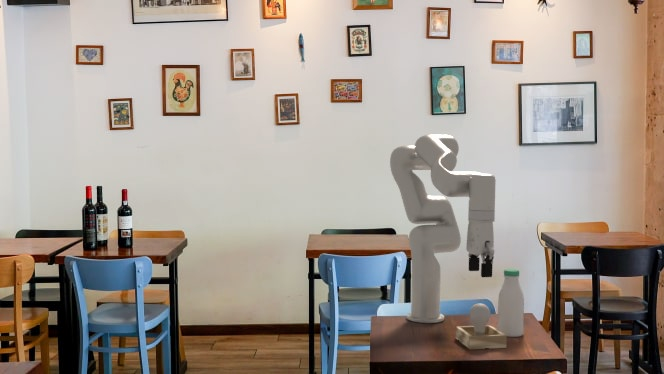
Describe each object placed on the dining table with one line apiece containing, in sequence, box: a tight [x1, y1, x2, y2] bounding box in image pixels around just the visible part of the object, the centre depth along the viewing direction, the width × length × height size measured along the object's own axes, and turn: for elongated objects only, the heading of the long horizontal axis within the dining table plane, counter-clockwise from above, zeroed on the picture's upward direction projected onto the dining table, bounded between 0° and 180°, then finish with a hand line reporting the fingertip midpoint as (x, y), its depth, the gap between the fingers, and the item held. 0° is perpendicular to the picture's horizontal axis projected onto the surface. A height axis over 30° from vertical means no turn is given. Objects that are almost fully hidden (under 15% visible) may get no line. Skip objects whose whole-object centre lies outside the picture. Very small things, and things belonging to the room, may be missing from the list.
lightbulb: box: [469, 302, 491, 336], centre depth 212 cm, size 6×6×11 cm
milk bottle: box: [497, 268, 525, 338], centre depth 221 cm, size 8×8×20 cm
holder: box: [455, 324, 508, 350], centre depth 212 cm, size 12×11×4 cm
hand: (480, 273), depth 211 cm, fingers open, 9 cm apart
